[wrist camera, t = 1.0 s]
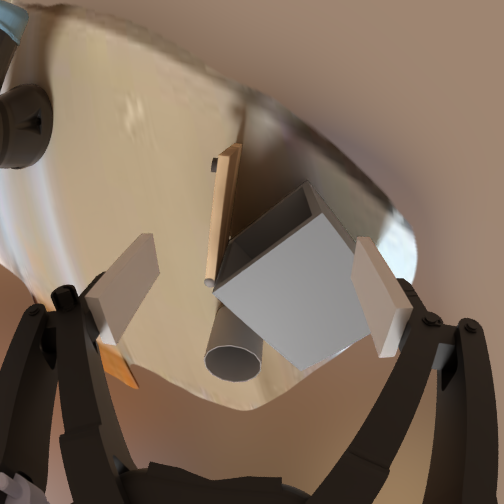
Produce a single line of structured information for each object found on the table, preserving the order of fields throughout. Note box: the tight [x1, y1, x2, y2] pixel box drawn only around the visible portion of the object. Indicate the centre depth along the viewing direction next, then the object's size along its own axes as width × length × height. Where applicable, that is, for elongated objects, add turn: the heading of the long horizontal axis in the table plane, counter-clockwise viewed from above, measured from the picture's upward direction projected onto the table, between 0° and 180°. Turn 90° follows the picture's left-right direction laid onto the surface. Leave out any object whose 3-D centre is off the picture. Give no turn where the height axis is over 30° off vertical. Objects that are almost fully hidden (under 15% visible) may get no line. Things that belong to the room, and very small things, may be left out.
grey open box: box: [212, 180, 371, 371], centre depth 36 cm, size 16×14×13 cm
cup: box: [204, 305, 263, 382], centre depth 44 cm, size 8×8×10 cm
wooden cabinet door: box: [204, 143, 242, 287], centre depth 33 cm, size 2×14×11 cm, turn 171°
